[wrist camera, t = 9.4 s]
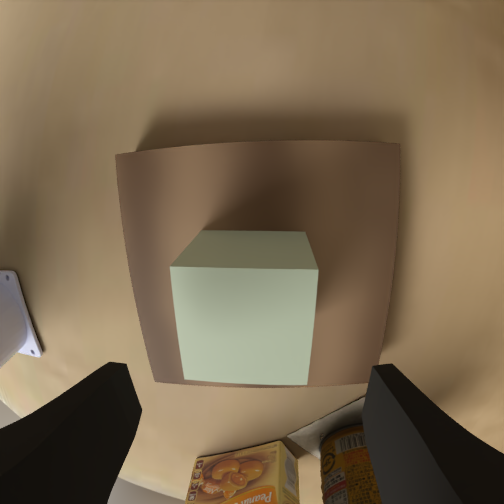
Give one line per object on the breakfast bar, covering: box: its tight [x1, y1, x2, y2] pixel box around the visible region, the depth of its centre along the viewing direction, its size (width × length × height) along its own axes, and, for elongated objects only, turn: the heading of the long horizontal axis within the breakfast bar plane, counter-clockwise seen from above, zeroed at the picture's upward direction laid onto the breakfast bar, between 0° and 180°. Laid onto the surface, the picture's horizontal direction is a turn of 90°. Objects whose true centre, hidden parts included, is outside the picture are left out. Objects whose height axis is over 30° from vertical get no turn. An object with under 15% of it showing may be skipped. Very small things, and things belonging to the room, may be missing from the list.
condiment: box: [287, 397, 382, 504], centre depth 17 cm, size 7×8×12 cm
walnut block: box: [115, 140, 400, 388], centre depth 18 cm, size 14×14×3 cm
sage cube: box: [170, 230, 318, 385], centre depth 14 cm, size 5×5×5 cm
